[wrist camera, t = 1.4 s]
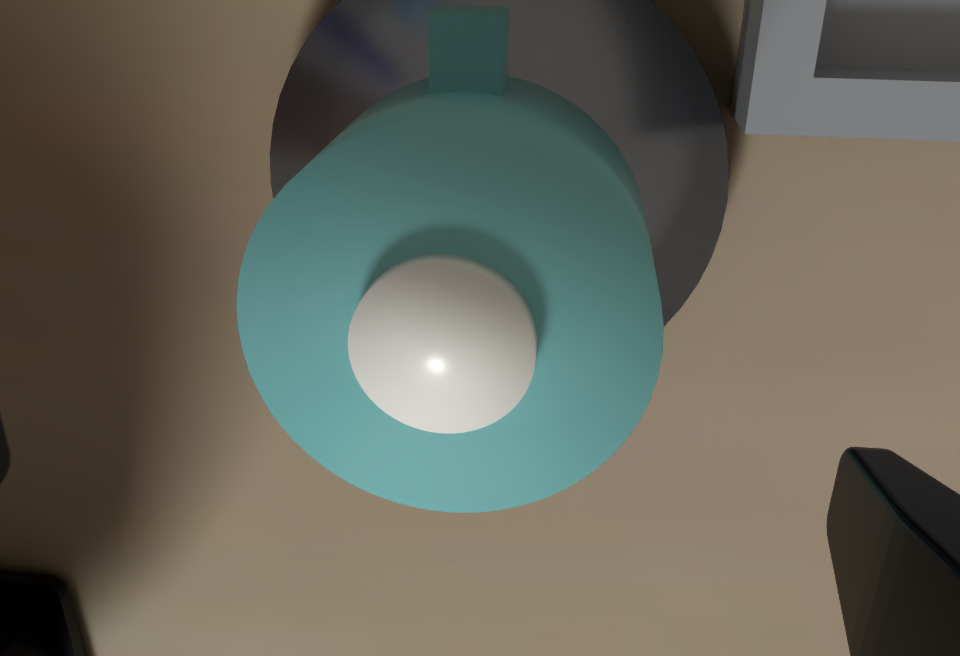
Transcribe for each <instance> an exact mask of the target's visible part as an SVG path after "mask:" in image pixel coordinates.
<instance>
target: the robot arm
mask: <svg viewBox="0 0 960 656" xmlns="http://www.w3.org/2000/svg"><path fill="white" fill-rule="evenodd" d="M10 461H11V458H10V449H9V445H8V441H7V437H6V433H5V430H4V426H3V422H2V418H1V415H0V486H1V485H2V483H3V481H4V479H5V478H6V475H7V473H8V470H9V467H10ZM827 537H828V543H829V548H830V553H831V558H832V563H833V569H834V574H835V579H836V584H837V589H838V594H839V599H840V605H841V610H842V615H843V620H844V625H845V630H846V636H847V641H848V646H849V651H850V655H851V656H960V494H958V493H956V492H955V491H953V490H952V489H950V488H949V487H947V486H946V485H944V484H942V483H941V482H939V481H938V480H936V479H935V478H933V477H931V476H930V475H928V474H927V473H925V472H924V471H922V470H921V469H919V468H917V467H916V466H914V465H913V464H911V463H910V462H908V461H907V460H905V459H903V458H902V457H900V456H899V455H897V454H896V453H894V452H892V451H891V450H887V449H881V448H865V447H849V448H848V449H846V450H845V451H844V452H843V454H842V456H841V458H840V462H839V466H838V470H837V475H836V479H835V483H834V488H833V492H832V496H831V501H830V505H829V510H828V515H827ZM0 656H85V654H84V650H83V646H82V642H81V638H80V634H79V630H78V626H77V622H76V618H75V614H74V610H73V606H72V603H71V599H70V595H69V591H68V588H67V586H66V584H65V583H64V582H63V581H62V580H61V579H59V578H57V577H56V576H53V575H49V574H40V573H28V572H17V571H6V570H0Z"/></svg>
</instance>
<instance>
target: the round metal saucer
mask: <svg viewBox="0 0 960 656" xmlns="http://www.w3.org/2000/svg"><path fill="white" fill-rule="evenodd" d="M439 5H452V6H493V7H509V48H508V76H510V77H514V78H518V79H523V80H526V81H529V82H531V83H534V84H537V85H539V86H542V87H544V88H547V89H549V90H551V91H553V92H554V93H556V94H558V95H560V96H562V97H564V98H565V99H567V100H569V101H570V102H572V103H573V104H574V105H576V106H577V107H579V108H580V109H581V110H583V111H584V112H585V113H587V114H588V115H589V116H590V117H591V118H592V119H593V120H594V121H595V122H596V123H597V124H598V125H599V126H600V127H601V128H602V129H603V130H605V132H606V133H607V134H608V135H609V137H610V138H611V139H612V141H613V142H614V143H615V144H616V146H617V147H618V148H619V150H620V151H621V153H622V155H623V156H624V158H625V160H626V162H627V163H628V165H629V167H630V168H631V171H632V173H633V176H634V178H635V180H636V183H637V185H638V188H639V191H640V195H641V198H642V202H643V206H644V210H645V215H646V221H647V226H648V232H649V237H650V243H651V248H652V254H653V259H654V265H655V270H656V276H657V281H658V287H659V292H660V298H661V306H662V315H663V324H664V326H665V325H666V324H667V323H668V321H669V320H670V319H671V318H672V317H673V316H674V315H675V314H676V313H677V312H678V310H679V309H680V308H681V307H682V306H683V304H684V303H685V301H686V300H687V299H688V297H689V296H690V294H691V293H692V291H693V290H694V289H695V287H696V286H697V284H698V283H699V281H700V279H701V277H702V275H703V273H704V271H705V269H706V267H707V265H708V263H709V261H710V259H711V257H712V254H713V251H714V249H715V246H716V243H717V240H718V237H719V235H720V232H721V228H722V223H723V218H724V213H725V209H726V204H727V194H728V179H729V164H728V149H727V139H726V134H725V130H724V125H723V120H722V115H721V111H720V108H719V105H718V102H717V100H716V97H715V94H714V91H713V89H712V86H711V83H710V81H709V79H708V77H707V75H706V73H705V71H704V69H703V67H702V66H701V64H700V62H699V60H698V58H697V56H696V54H695V52H694V51H693V49H692V48H691V47H690V45H689V44H688V42H687V41H686V40H685V38H684V37H683V36H682V34H681V33H680V31H679V30H678V29H677V27H676V26H675V25H674V23H673V22H672V20H671V19H670V18H669V17H668V16H667V15H666V14H665V13H664V12H663V11H662V10H661V9H660V8H659V7H658V6H657V5H656V4H655V3H654V2H653V0H341V1H340V2H339V3H338V4H337V5H336V6H335V7H334V8H333V9H332V10H331V11H330V12H329V13H328V14H327V15H326V16H325V17H324V18H323V19H322V21H321V22H320V23H319V25H318V26H317V27H316V28H315V30H314V31H313V32H312V34H311V35H310V36H309V38H308V39H307V40H306V42H305V43H304V45H303V47H302V49H301V50H300V52H299V54H298V56H297V58H296V59H295V61H294V63H293V65H292V66H291V68H290V71H289V73H288V76H287V79H286V81H285V84H284V86H283V89H282V91H281V94H280V97H279V101H278V105H277V109H276V114H275V118H274V122H273V129H272V139H271V148H270V169H271V186H272V192H273V198H275V197H276V195H277V194H278V193H279V192H280V191H281V189H282V188H283V187H284V186H285V185H286V184H287V183H288V182H289V181H290V180H291V179H292V178H293V177H294V176H295V175H296V174H297V173H299V172H300V171H301V170H302V169H303V168H304V167H305V166H306V165H307V164H308V163H309V162H310V161H311V160H312V159H313V158H314V157H316V156H317V155H318V154H319V153H320V152H321V151H322V150H323V149H324V148H325V147H326V146H327V145H328V144H329V143H330V142H331V141H333V140H334V139H335V138H336V137H337V136H338V135H339V134H340V133H341V132H342V131H343V130H344V129H345V128H346V127H347V126H349V125H350V124H351V123H352V122H353V121H354V120H355V119H356V118H357V117H358V116H359V115H361V114H362V113H363V112H364V111H365V110H366V109H367V108H368V107H369V106H371V105H372V104H374V103H375V102H377V101H378V100H380V99H381V98H383V97H384V96H386V95H387V94H389V93H391V92H393V91H395V90H397V89H400V88H402V87H404V86H406V85H408V84H411V83H414V82H417V81H420V80H423V79H426V78H429V35H428V13H429V12H431V11H432V10H434V9H435V8H436V7H438V6H439Z"/></svg>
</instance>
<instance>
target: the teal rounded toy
mask: <svg viewBox="0 0 960 656" xmlns="http://www.w3.org/2000/svg"><path fill="white" fill-rule="evenodd" d="M428 35H429V78H426V79H423V80H420V81H417V82H414V83H411V84H408V85H406V86H404V87H402V88H400V89H397V90H395V91H393V92H391V93H389V94H387V95H386V96H384V97H383V98H381V99H380V100H378V101H377V102H375V103H374V104H372V105H371V106H369V107H368V108H367V109H366V110H365V111H364V112H363V113H362V114H361V115H359V116H358V117H357V118H356V119H355V120H354V121H353V122H352V123H351V124H350V125H349V126H347V127H346V128H345V129H344V130H343V131H342V132H341V133H340V134H339V135H338V136H337V137H336V138H335V139H334V140H333V141H331V142H330V143H329V144H328V145H327V146H326V147H325V148H324V149H323V150H322V151H321V152H320V153H319V154H318V155H317V156H316V157H314V158H313V159H312V160H311V161H310V162H309V163H308V164H307V165H306V166H305V167H304V168H303V169H302V170H301V171H300V172H299V173H297V174H296V175H295V176H294V177H293V178H292V179H291V180H290V181H289V182H288V183H287V184H286V185H285V186H284V187H283V188H282V189H281V191H280V192H279V193H278V194H277V195H276V197H275V198H274V199H273V200H272V202H271V203H270V204H269V205H268V206H267V208H266V210H265V212H264V213H263V215H262V217H261V218H260V220H259V222H258V223H257V225H256V227H255V228H254V231H253V233H252V236H251V238H250V240H249V243H248V245H247V248H246V250H245V253H244V257H243V261H242V265H241V270H240V274H239V279H238V290H237V301H236V302H237V322H238V331H239V336H240V341H241V346H242V351H243V354H244V357H245V360H246V363H247V366H248V369H249V372H250V375H251V377H252V379H253V381H254V383H255V385H256V387H257V390H258V392H259V394H260V396H261V398H262V399H263V401H264V402H265V404H266V405H267V407H268V408H269V410H270V412H271V413H272V415H273V416H274V418H275V419H276V420H277V421H278V423H279V424H280V425H281V426H282V428H283V429H284V430H285V431H286V432H287V434H288V435H289V436H290V437H291V438H292V439H293V440H294V441H295V442H296V443H297V444H298V445H299V446H300V447H301V448H302V449H303V450H304V451H305V452H306V453H307V454H308V455H310V456H311V457H312V458H313V459H315V460H316V461H317V462H319V463H320V464H321V465H322V466H324V467H325V468H326V469H328V470H329V471H331V472H332V473H334V474H336V475H337V476H339V477H340V478H342V479H344V480H345V481H347V482H349V483H350V484H352V485H354V486H356V487H359V488H361V489H363V490H365V491H367V492H369V493H371V494H373V495H376V496H379V497H382V498H385V499H387V500H390V501H393V502H396V503H400V504H404V505H408V506H412V507H416V508H420V509H427V510H435V511H442V512H463V513H474V512H486V511H497V510H502V509H507V508H513V507H518V506H522V505H525V504H528V503H532V502H535V501H538V500H541V499H544V498H546V497H549V496H551V495H553V494H555V493H558V492H560V491H562V490H564V489H566V488H568V487H570V486H571V485H573V484H575V483H576V482H578V481H580V480H581V479H583V478H584V477H586V476H588V475H589V474H590V473H592V472H593V471H594V470H595V469H597V468H598V467H599V466H600V465H602V464H603V463H604V462H605V461H606V460H608V459H609V457H610V456H611V455H612V454H613V453H614V452H615V451H616V450H617V449H618V448H619V447H620V446H621V445H622V444H623V443H624V442H625V440H626V439H627V437H628V436H629V435H630V433H631V432H632V430H633V429H634V428H635V426H636V425H637V423H638V422H639V420H640V418H641V416H642V414H643V412H644V410H645V409H646V407H647V405H648V403H649V401H650V398H651V395H652V392H653V390H654V387H655V384H656V381H657V378H658V374H659V369H660V363H661V358H662V353H663V331H664V324H663V315H662V306H661V298H660V292H659V287H658V281H657V276H656V270H655V265H654V259H653V254H652V248H651V243H650V237H649V232H648V226H647V221H646V215H645V210H644V206H643V202H642V198H641V195H640V191H639V188H638V185H637V183H636V180H635V178H634V176H633V173H632V171H631V168H630V167H629V165H628V163H627V162H626V160H625V158H624V156H623V155H622V153H621V151H620V150H619V148H618V147H617V146H616V144H615V143H614V142H613V141H612V139H611V138H610V137H609V135H608V134H607V133H606V132H605V130H603V129H602V128H601V127H600V126H599V125H598V124H597V123H596V122H595V121H594V120H593V119H592V118H591V117H590V116H589V115H588V114H587V113H585V112H584V111H583V110H581V109H580V108H579V107H577V106H576V105H574V104H573V103H572V102H570V101H569V100H567V99H565V98H564V97H562V96H560V95H558V94H556V93H554V92H553V91H551V90H549V89H547V88H544V87H542V86H539V85H537V84H534V83H531V82H529V81H526V80H523V79H518V78H514V77H510V76H508V48H509V7H493V6H452V5H439V6H438V7H436V8H435V9H434V10H432V11H431V12H429V13H428Z"/></svg>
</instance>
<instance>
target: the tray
mask: <svg viewBox="0 0 960 656" xmlns="http://www.w3.org/2000/svg"><path fill="white" fill-rule="evenodd" d="M730 113H731V114H732V116H733V117H734V119H735V120H736V122H737V123H738V125H739V126H740V128H741V129H742V131H743V132H744V134H759V135H787V136H814V137H841V138H868V139H895V140H922V141H949V142H960V0H745V5H744V13H743V20H742V28H741V35H740V42H739V50H738V57H737V64H736V72H735V79H734V87H733V94H732V101H731V109H730Z"/></svg>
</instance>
